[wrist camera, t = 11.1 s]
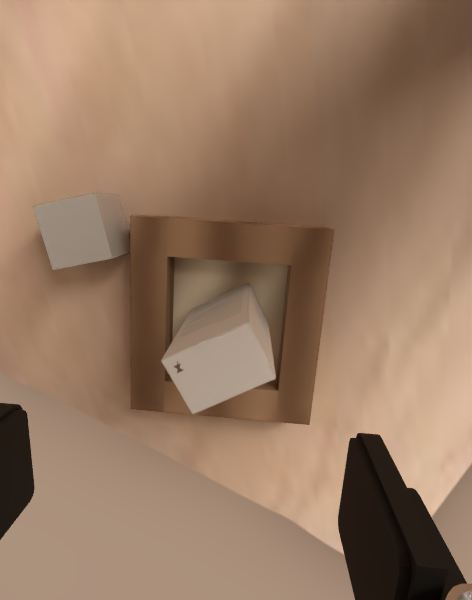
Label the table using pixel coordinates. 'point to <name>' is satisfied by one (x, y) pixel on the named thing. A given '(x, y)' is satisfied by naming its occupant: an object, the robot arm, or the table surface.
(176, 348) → the skincare box
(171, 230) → the socket block
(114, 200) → the grey cube
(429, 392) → the table surface
